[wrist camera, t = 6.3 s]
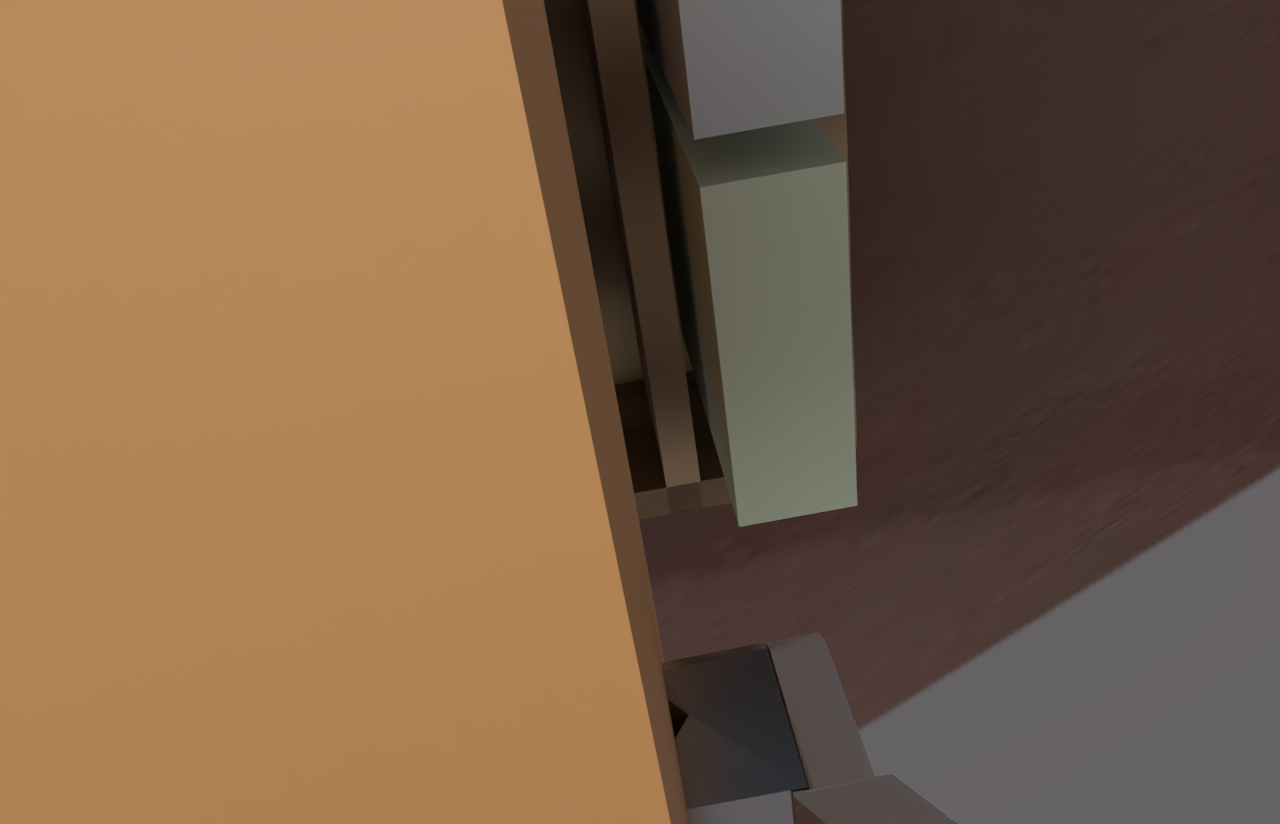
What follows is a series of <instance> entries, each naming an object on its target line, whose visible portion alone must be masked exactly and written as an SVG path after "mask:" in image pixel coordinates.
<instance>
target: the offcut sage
mask: <svg viewBox="0 0 1280 824" xmlns="http://www.w3.org/2000/svg"><path fill="white" fill-rule="evenodd" d="M644 58H645V65H646V73H647V80H648V87H649V95H650V102H651V109H652V117H653V124H654V131H655V139H656V146H657V153H658V160H659V168H660V175H661V182H662V190H663V197H664V204H665V212H666V219H667V226H668V234H669V241H670V248H671V256H672V263H673V270H674V277H675V285H676V292H677V299H678V307H679V314H680V321H681V329H682V335H683V338H684V341H685V345H686V348H687V352H688V355H689V358H690V362H691V365H692V369H693V372H694V375H695V379H696V382H697V386H698V389H699V392H700V396H701V399H702V403H703V406H704V409H705V413H706V416H707V420H708V423H709V426H710V430H711V433H712V437H713V440H714V443H715V447H716V450H717V454H718V457H719V460H720V464H721V467H722V471H723V474H724V477H725V481H726V484H727V488H728V491H729V494H730V498H731V501H732V505H733V508H734V511H735V515H736V518H737V522H738V525H739V527H741V526H747V525H752V524H758V523H763V522H769V521H774V520H780V519H785V518H791V517H796V516H802V515H807V514H813V513H818V512H824V511H829V510H835V509H840V508H846V507H851V506H857V481H856V451H855V421H854V390H853V360H852V330H851V299H850V269H849V239H848V209H847V178H846V161H845V160H844V159H843V157H842V156H841V155H840V154H839V152H838V151H837V150H836V148H835V147H834V146H833V145H832V143H831V142H830V141H829V139H828V138H827V137H826V136H825V134H824V133H823V132H822V131H821V129H820V128H819V127H818V125H817V124H816V123H815V122H814V120H813V119H809V120H804V121H798V122H792V123H787V124H781V125H775V126H770V127H764V128H758V129H753V130H747V131H741V132H735V133H730V134H724V135H718V136H713V137H707V138H701V139H696V140H694V138H693V136H692V134H691V132H690V129H689V127H688V125H687V123H686V121H685V119H684V116H683V114H682V112H681V110H680V108H679V106H678V103H677V101H676V99H675V97H674V95H673V92H672V90H671V88H670V86H669V84H668V82H667V79H666V77H665V75H664V73H663V71H662V69H661V66H660V64H659V62H658V60H657V58H656V56H655V55H653V56H647V57H644Z"/></svg>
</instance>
